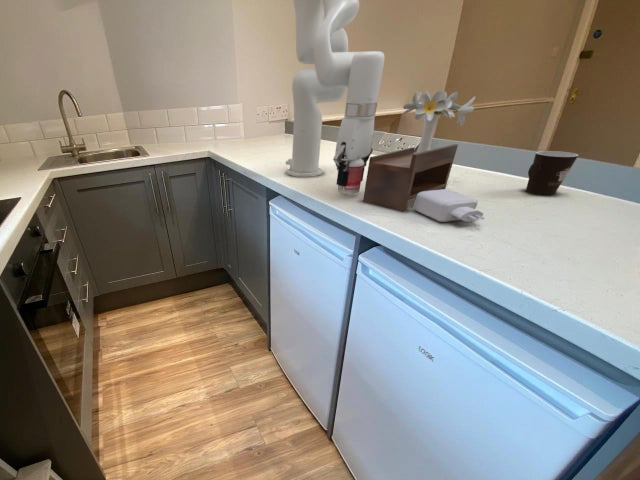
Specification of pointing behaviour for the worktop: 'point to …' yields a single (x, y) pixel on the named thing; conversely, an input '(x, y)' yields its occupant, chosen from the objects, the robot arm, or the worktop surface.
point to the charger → (447, 206)
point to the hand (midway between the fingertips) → (349, 182)
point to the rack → (407, 175)
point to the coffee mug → (549, 171)
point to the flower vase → (435, 113)
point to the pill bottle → (353, 176)
